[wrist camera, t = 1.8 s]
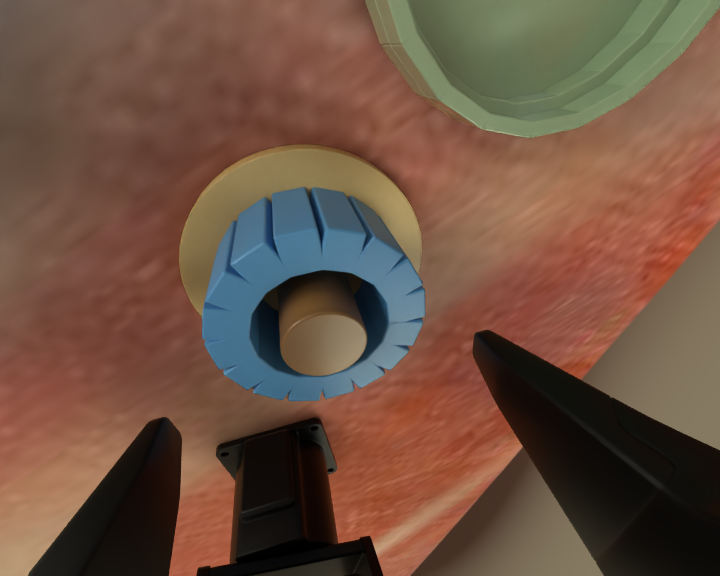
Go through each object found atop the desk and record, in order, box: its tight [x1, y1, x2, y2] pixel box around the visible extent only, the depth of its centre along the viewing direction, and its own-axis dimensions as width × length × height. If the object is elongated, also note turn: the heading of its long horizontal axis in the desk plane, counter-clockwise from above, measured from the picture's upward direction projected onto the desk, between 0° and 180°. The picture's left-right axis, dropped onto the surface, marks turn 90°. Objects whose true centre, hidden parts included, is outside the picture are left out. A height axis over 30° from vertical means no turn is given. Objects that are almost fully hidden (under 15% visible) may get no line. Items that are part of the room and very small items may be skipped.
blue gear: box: [202, 187, 425, 401], centre depth 13 cm, size 7×7×4 cm
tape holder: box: [179, 144, 422, 376], centre depth 13 cm, size 10×10×5 cm
